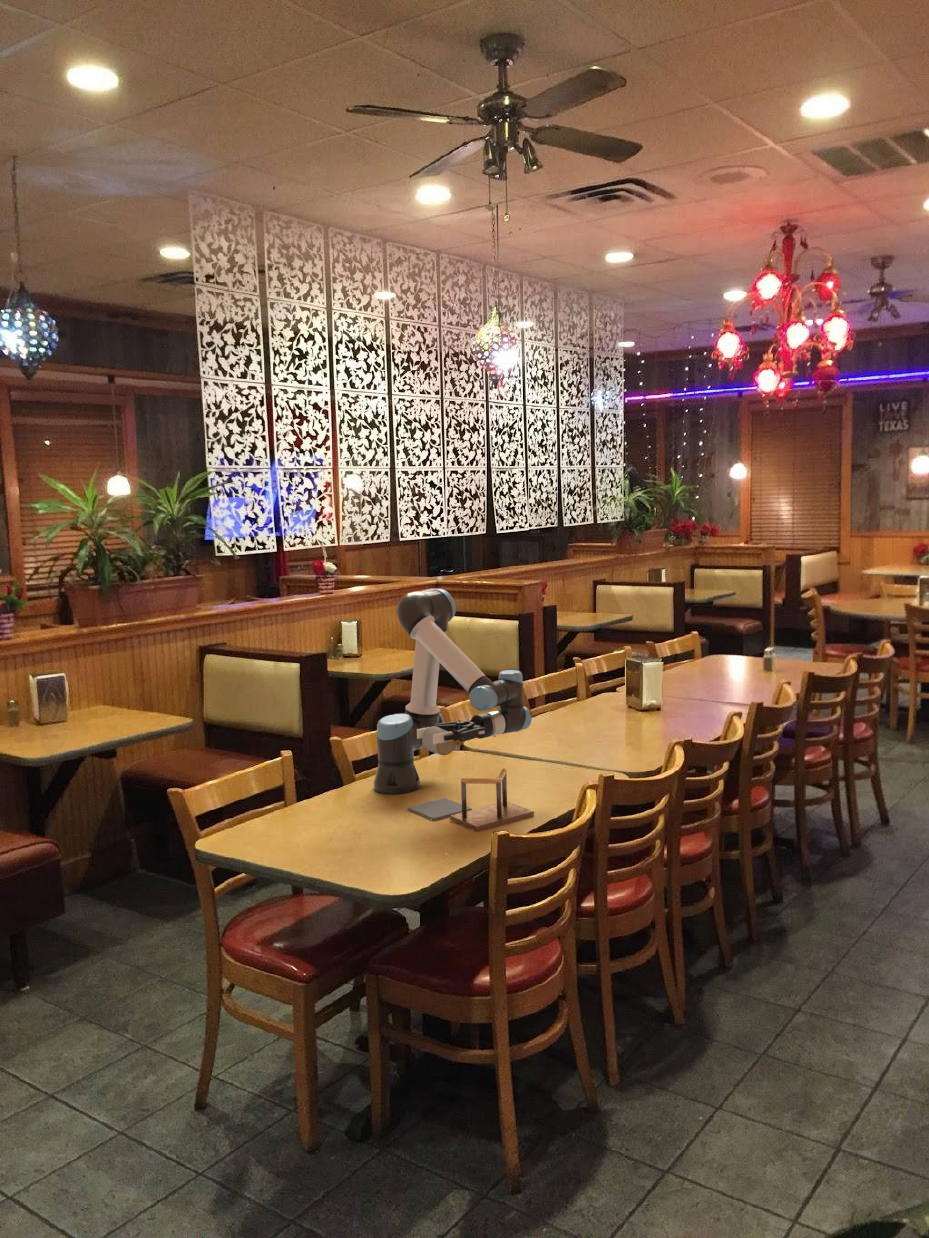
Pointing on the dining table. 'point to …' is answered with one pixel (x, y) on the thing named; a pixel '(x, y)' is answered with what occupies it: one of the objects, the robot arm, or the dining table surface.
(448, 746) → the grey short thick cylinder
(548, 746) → the dining table surface
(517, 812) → the bent rail stand
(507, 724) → the robot arm
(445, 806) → the rubber mat
